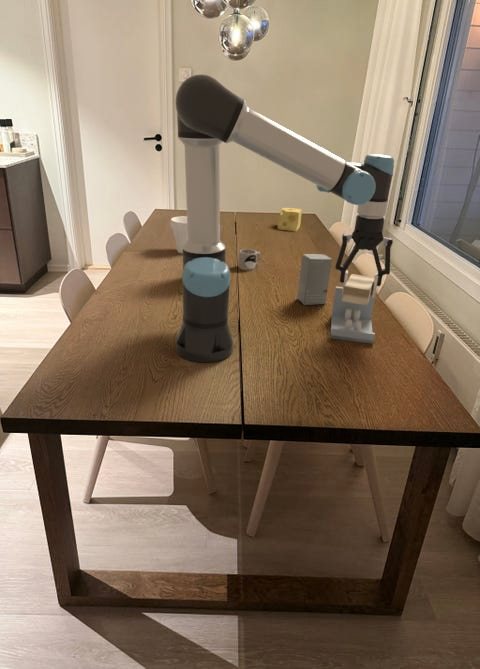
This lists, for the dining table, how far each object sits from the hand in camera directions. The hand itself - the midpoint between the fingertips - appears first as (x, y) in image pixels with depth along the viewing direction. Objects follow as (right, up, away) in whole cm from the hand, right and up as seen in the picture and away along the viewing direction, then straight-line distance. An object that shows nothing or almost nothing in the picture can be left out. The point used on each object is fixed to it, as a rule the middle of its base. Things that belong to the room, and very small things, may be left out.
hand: (358, 294), depth 142 cm
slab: (0, -1, 0) cm, 1 cm away
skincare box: (-10, -1, +24) cm, 26 cm away
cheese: (-8, +44, +115) cm, 123 cm away
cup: (-58, +24, +67) cm, 92 cm away
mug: (-30, +15, +53) cm, 63 cm away
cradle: (-1, -10, +5) cm, 11 cm away
